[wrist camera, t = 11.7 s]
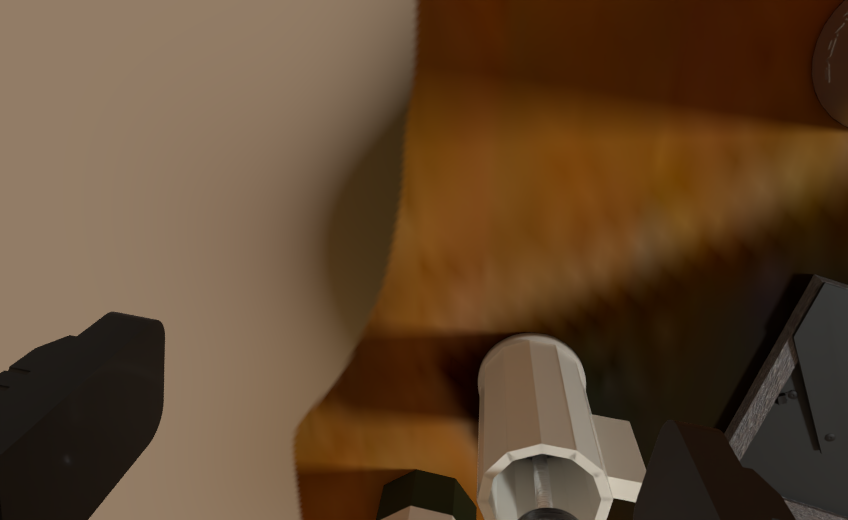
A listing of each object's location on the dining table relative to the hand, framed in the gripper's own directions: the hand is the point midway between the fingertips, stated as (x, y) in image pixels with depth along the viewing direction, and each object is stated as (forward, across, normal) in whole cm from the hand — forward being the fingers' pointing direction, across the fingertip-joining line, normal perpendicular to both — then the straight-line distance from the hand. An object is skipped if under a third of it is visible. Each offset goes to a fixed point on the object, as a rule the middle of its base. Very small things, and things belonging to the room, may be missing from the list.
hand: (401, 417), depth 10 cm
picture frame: (+35, -30, +16) cm, 49 cm away
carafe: (+34, -9, +18) cm, 40 cm away
